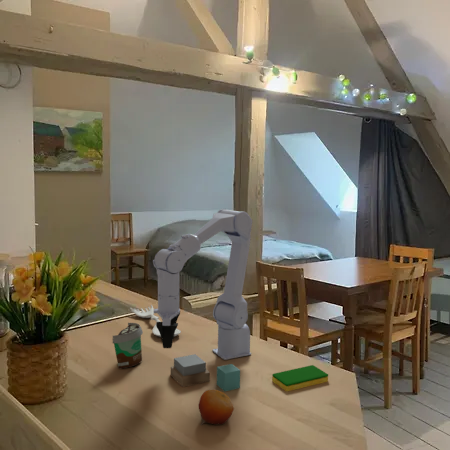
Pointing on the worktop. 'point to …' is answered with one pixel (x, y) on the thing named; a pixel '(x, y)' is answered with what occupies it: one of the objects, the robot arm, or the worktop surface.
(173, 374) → the walnut slab
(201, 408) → the fruit
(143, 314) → the spoon
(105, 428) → the worktop surface
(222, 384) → the teal block
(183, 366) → the gray block
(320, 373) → the dish sponge
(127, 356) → the food container
